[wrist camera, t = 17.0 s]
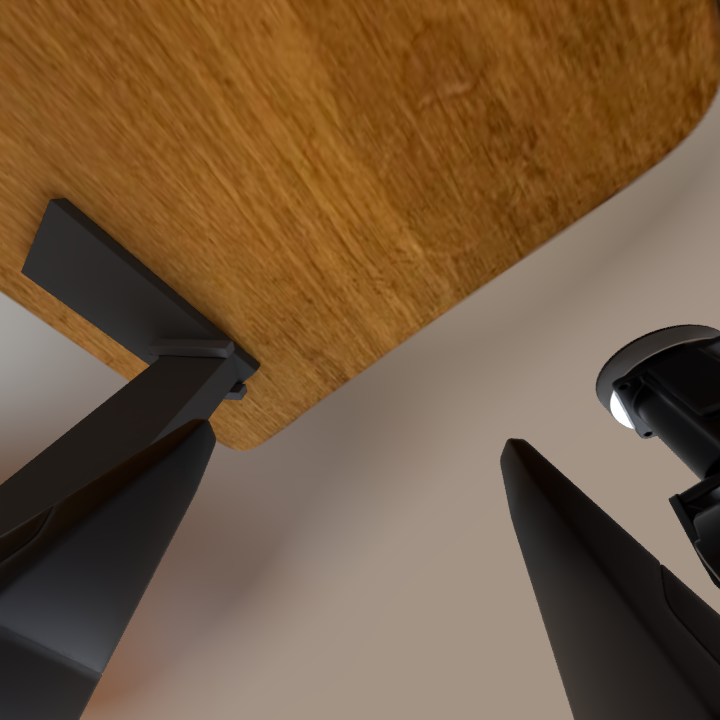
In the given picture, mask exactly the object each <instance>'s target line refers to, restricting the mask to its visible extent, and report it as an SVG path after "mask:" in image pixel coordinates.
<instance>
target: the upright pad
mask: <svg viewBox="0 0 720 720" xmlns="http://www.w3.org/2000/svg"><path fill="white" fill-rule="evenodd" d="M238 379H239V374H238V370H237V366H236V363H235V359H234V356H233V352H232V353H231V354H230V355H229V357H227V358H225V357H198V356H172V355H163V356H162V357H160V358H159V359H158V360H157V361H155V362H154V363H153V364H152V365H150V366H149V367H148V368H147V369H145V370H144V371H143V372H142V373H140V374H139V375H138V376H137V377H135V378H134V379H133V380H132V381H130V382H129V383H128V384H127V385H125V386H124V387H123V388H122V389H120V390H119V391H118V392H117V393H115V394H114V395H113V396H112V397H110V398H109V399H108V400H107V401H106V402H104V403H103V404H101V405H100V406H99V407H98V408H96V409H95V410H94V411H93V412H91V413H90V414H89V415H88V416H87V417H85V418H84V419H83V420H81V421H80V422H79V423H78V424H76V425H75V426H74V427H73V428H71V429H70V430H69V431H68V432H66V433H65V434H64V435H63V436H61V437H60V438H59V439H58V440H56V441H55V442H54V443H53V444H51V446H49V447H48V448H46V449H45V450H44V451H43V452H42V453H40V454H39V455H38V456H36V457H35V458H34V459H33V460H31V461H30V462H29V463H28V464H26V465H25V466H24V467H23V468H22V469H20V470H19V471H18V472H17V473H15V474H14V475H13V476H11V477H10V478H9V479H8V480H6V481H5V482H4V483H3V484H1V485H0V536H2V535H4V534H5V533H7V532H9V531H10V530H12V529H14V528H15V527H17V526H19V525H20V524H22V523H24V522H25V521H27V520H29V519H30V518H32V517H34V516H35V515H37V514H39V513H40V512H42V511H43V510H45V509H47V508H48V507H50V506H52V505H55V503H57V502H58V501H60V500H62V499H63V498H65V497H66V496H68V495H70V494H71V493H73V492H75V491H76V490H78V489H79V488H81V487H83V486H84V485H86V484H88V483H89V482H91V481H93V480H94V479H96V478H97V477H99V476H101V475H102V474H104V473H106V472H107V471H109V470H111V469H112V468H114V467H115V466H117V465H119V464H120V463H122V462H124V461H125V460H127V459H128V458H130V457H132V456H133V455H135V454H137V453H138V452H140V451H142V450H143V449H145V448H146V447H148V446H150V445H151V444H153V443H155V442H156V441H158V440H159V439H161V438H163V437H164V436H166V435H168V434H169V433H171V432H173V431H174V430H176V429H177V428H179V427H181V426H182V425H184V424H186V423H187V422H189V421H191V420H192V419H207V420H208V419H209V418H210V416H211V415H212V414H213V412H214V411H215V410H216V408H217V407H218V406H219V404H220V403H221V402H222V400H223V399H224V398H225V396H226V395H227V394H228V392H229V391H230V390H231V388H232V387H233V386H234V384H235V383H236V382H237V380H238Z"/></svg>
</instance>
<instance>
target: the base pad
mask: <svg viewBox="0 0 720 720" xmlns="http://www.w3.org/2000/svg"><path fill="white" fill-rule="evenodd" d="M21 272H22V273H23V274H24V275H25V276H27V277H28V278H30V279H31V280H32V281H34V282H35V283H36V284H38V285H39V286H41V287H42V288H43V289H45V290H46V291H47V292H49V293H50V294H52V295H53V296H54V297H56V298H57V299H59V300H60V301H61V302H63V303H64V304H65V305H67V306H68V307H70V308H71V309H72V310H74V311H75V312H77V313H78V314H79V315H81V316H82V317H83V318H85V319H86V320H88V321H89V322H90V323H92V324H93V325H94V326H96V327H97V328H99V329H100V330H101V331H103V332H104V333H106V334H107V335H108V336H110V337H111V338H112V339H114V340H115V341H117V342H118V343H119V344H121V345H122V346H123V347H125V348H126V349H128V350H129V351H130V352H132V353H133V354H135V355H136V356H137V357H139V358H140V359H141V360H143V361H144V362H146V363H147V364H148V365H152V364H153V363H154V362H155V361H157V360H158V359H159V358H160V357H162V356H163V355H172V356H198V357H225V358H227V357H229V355H230V354H231V353H232V352H233V356H234V359H235V363H236V366H237V370H238V374H239V379H238V380H237V382H236V383H235V384H234V386H233V387H232V388H231V390H230V391H229V392H228V394H227V395H226V396H225V398H224V399H229V400H242V398H243V397H244V395H245V394H246V392H247V388H246V385H245V384H242V383H243V382H244V381H245V380H247V379H248V378H249V377H250V376H252V375H253V374H254V373H255V372H256V371H257V370H258V368H259V367H260V364H259V363H258V362H257V361H255V360H254V359H253V358H252V357H251V356H250V355H248V354H247V353H246V352H245V351H244V350H243V349H241V348H240V347H239V346H238V345H237V344H236V343H234V342H233V341H232V340H231V339H230V338H228V337H227V336H226V335H225V334H224V333H223V332H221V331H220V330H219V329H218V328H217V327H216V326H214V325H213V324H212V323H211V322H210V321H209V320H207V319H206V318H205V317H204V316H203V315H202V314H200V313H199V312H198V311H197V310H196V309H195V308H193V307H192V306H191V305H190V304H189V303H187V302H186V301H185V300H184V299H183V298H182V297H180V296H179V295H178V294H177V293H176V292H175V291H173V290H172V289H171V288H170V287H169V286H168V285H166V284H165V283H164V282H163V281H162V280H161V279H159V278H158V277H157V276H156V275H155V274H153V273H152V272H151V271H150V270H149V269H148V268H146V267H145V266H144V265H143V264H142V263H141V262H139V261H138V260H137V259H136V258H135V257H134V256H132V255H131V254H130V253H129V252H128V251H127V250H125V249H124V248H123V247H122V246H121V245H119V244H118V243H117V242H116V241H115V240H114V239H112V238H111V237H110V236H109V235H108V234H107V233H105V232H104V231H103V230H102V229H101V228H100V227H98V226H97V225H96V224H95V223H94V222H93V221H91V220H90V219H89V218H88V217H87V216H85V215H84V214H83V213H82V212H81V211H80V210H78V209H77V208H76V207H75V206H74V205H73V204H71V203H70V202H69V201H68V200H67V199H65V198H62V199H51V200H50V201H49V204H48V206H47V209H46V211H45V214H44V216H43V219H42V221H41V224H40V226H39V229H38V231H37V234H36V236H35V239H34V241H33V244H32V246H31V249H30V251H29V254H28V256H27V259H26V261H25V264H24V266H23V269H22V271H21Z"/></svg>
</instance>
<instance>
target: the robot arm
mask: <svg viewBox="0 0 720 720" xmlns="http://www.w3.org/2000/svg"><path fill="white" fill-rule="evenodd" d="M623 384H624V385H623ZM621 385H622V386H621ZM612 387H613V389H614V391H615V393H616V395H617V397H618V399H619V401H620V402H621V404H622V406H623V408H624V410H625V412H626V414H627V415H628V417H629V419H630V421H631V423H632V425H633V427H634V429H635V430H636V432H637V433H638V434H639V436H640V437H641V438H644V439H647V438H651V437H654V436H658V437H659V438H660V439H661V440H662V441H663V442H664V443H665V444H666V445H667V446H668V447H669V448H670V449H671V450H672V451H673V452H674V453H675V454H676V455H677V456H678V457H679V458H680V459H681V460H682V461H683V462H684V463H685V464H686V465H687V466H688V467H689V468H690V469H691V471H693V472H694V473H695V475H697V477H698V478H699V479H701V482H699V483H697V484H696V485H694V486H692V487H691V488H689V489H688V490H686V491H684V492H683V493H681V494H675V495H674V496H672V497H671V498H669V502H670V504H671V506H672V507H673V509H674V511H675V513H676V515H677V517H678V519H679V521H680V523H681V524H682V526H683V528H684V530H685V532H686V534H687V536H688V538H689V539H690V541H691V543H692V545H693V547H694V549H695V551H696V552H697V555H698V556H699V558H700V560H701V562H702V564H703V566H704V567H705V569H706V571H707V572H708V574H709V576H710V578H711V580H712V581H713V583H714V584H715V585H716V586H717V587H718V588H719V589H720V336H717V337H715V338H712V339H710V340H708V341H705V342H703V343H701V344H698V345H696V346H694V347H691V348H689V349H687V350H684V351H682V352H679V353H677V354H675V355H672V356H670V357H668V358H665V359H663V360H661V361H658V362H656V363H653V364H651V365H649V366H646V367H644V368H642V369H639V370H637V371H635V372H632V373H630V374H628V375H625V376H623V377H620V378H618V379H616V380H615V381H614V382H613V383H612ZM215 443H216V437H215V434H214V432H213V429H212V427H211V425H210V422H209V421H208V420H207V419H192V420H191V421H189V422H187V423H186V424H184V425H182V426H181V427H179V428H177V429H176V430H174V431H173V432H171V433H169V434H168V435H166V436H164V437H163V438H161V439H159V440H158V441H156V442H155V443H153V444H151V445H150V446H148V447H146V448H145V449H143V450H142V451H140V452H138V453H137V454H135V455H133V456H132V457H130V458H128V459H127V460H125V461H124V462H122V463H120V464H119V465H117V466H115V467H114V468H112V469H111V470H109V471H107V472H106V473H104V474H102V475H101V476H99V477H97V478H96V479H94V480H93V481H91V482H89V483H88V484H86V485H84V486H83V487H81V488H79V489H78V490H76V491H75V492H73V493H71V494H70V495H68V496H66V497H65V498H63V499H62V500H60V501H58V502H57V503H55V505H52V506H50V507H48V508H47V509H45V510H43V511H42V512H40V513H39V514H37V515H35V516H34V517H32V518H30V519H29V520H27V521H25V522H24V523H22V524H20V525H19V526H17V527H15V528H14V529H12V530H10V531H9V532H7V533H5V534H4V535H2V536H0V720H79V719H80V717H81V715H82V713H83V711H84V709H85V707H86V706H87V704H88V702H89V700H90V698H91V696H92V694H93V692H94V690H95V688H96V686H97V684H98V682H99V680H100V678H101V676H102V673H103V672H104V670H105V668H106V666H107V664H108V662H109V660H110V658H111V656H112V654H113V652H114V650H115V649H116V647H117V645H118V643H119V641H120V639H121V637H122V635H123V633H124V631H125V629H126V627H127V625H128V623H129V621H130V620H131V617H132V616H133V614H134V612H135V610H136V608H137V606H138V604H139V602H140V600H141V598H142V596H143V594H144V592H145V590H146V588H147V587H148V585H149V583H150V581H151V579H152V577H153V575H154V573H155V571H156V569H157V567H158V565H159V563H160V561H161V559H162V557H163V556H164V554H165V552H166V550H167V548H168V546H169V543H170V542H171V540H172V538H173V536H174V534H175V532H176V530H177V528H178V526H179V524H180V522H181V521H182V519H183V517H184V515H185V513H186V511H187V509H188V507H189V505H190V503H191V501H192V499H193V497H194V495H195V493H196V491H197V489H198V486H199V484H200V482H201V479H202V477H203V474H204V472H205V469H206V466H207V464H208V461H209V459H210V456H211V454H212V451H213V449H214V446H215ZM500 464H501V470H502V475H503V479H504V485H505V489H506V495H507V499H508V505H509V509H510V514H511V519H512V522H513V525H514V529H515V532H516V535H517V539H518V542H519V545H520V548H521V551H522V555H523V558H524V561H525V564H526V567H527V570H528V574H529V577H530V580H531V583H532V586H533V590H534V592H535V596H536V599H537V602H538V605H539V609H540V612H541V615H542V618H543V621H544V624H545V628H546V631H547V634H548V637H549V640H550V644H551V647H552V650H553V653H554V657H555V660H556V663H557V666H558V669H559V673H560V676H561V679H562V682H563V685H564V688H565V692H566V695H567V698H568V701H569V704H570V708H571V711H572V714H573V717H574V720H720V615H719V614H718V613H717V612H716V611H715V610H713V609H712V608H711V607H710V606H709V605H708V604H707V603H706V602H704V601H703V600H702V599H701V598H700V597H699V596H698V595H696V594H695V593H694V592H693V591H692V590H691V589H690V588H688V587H687V586H686V585H685V584H684V583H683V582H681V580H679V579H678V578H677V577H676V576H675V575H674V574H673V573H672V572H671V571H670V570H668V569H667V568H666V567H665V566H664V565H660V562H659V561H658V560H657V559H656V558H655V557H654V556H653V555H652V554H651V553H650V552H648V551H647V550H646V549H645V548H644V547H643V546H642V545H641V544H640V543H638V542H637V541H636V540H635V539H634V538H633V537H632V536H631V535H630V534H629V533H627V532H626V531H625V530H624V529H623V528H622V527H621V526H620V525H619V524H617V523H616V522H615V521H614V520H613V519H612V518H611V517H610V516H609V515H608V514H606V513H605V512H604V511H603V510H602V509H601V508H600V507H598V505H597V504H595V503H594V502H593V501H592V500H591V499H590V498H589V497H588V496H586V495H585V494H584V493H583V492H582V491H581V490H580V489H579V488H578V487H577V486H575V485H574V484H573V483H572V482H571V481H570V480H569V479H568V478H567V477H565V476H564V475H563V474H562V473H561V472H560V471H559V470H558V469H556V467H554V466H553V465H552V464H551V463H550V462H549V461H548V460H547V459H546V458H545V457H543V456H542V455H541V454H540V453H539V452H538V451H537V450H536V449H535V448H534V447H532V446H531V445H530V444H529V443H528V442H527V441H525V440H524V439H513V438H511V439H508V440H507V442H506V444H505V447H504V450H503V452H502V455H501V459H500Z"/></svg>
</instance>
